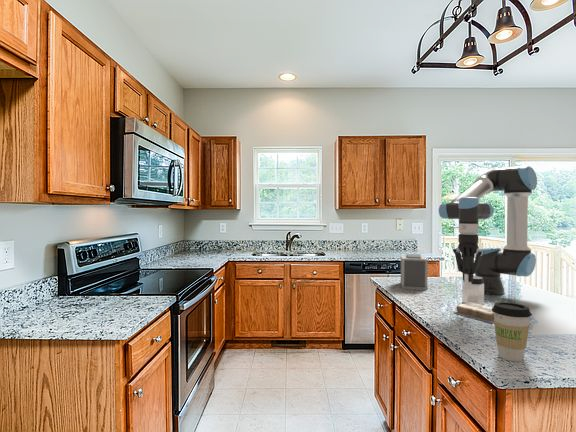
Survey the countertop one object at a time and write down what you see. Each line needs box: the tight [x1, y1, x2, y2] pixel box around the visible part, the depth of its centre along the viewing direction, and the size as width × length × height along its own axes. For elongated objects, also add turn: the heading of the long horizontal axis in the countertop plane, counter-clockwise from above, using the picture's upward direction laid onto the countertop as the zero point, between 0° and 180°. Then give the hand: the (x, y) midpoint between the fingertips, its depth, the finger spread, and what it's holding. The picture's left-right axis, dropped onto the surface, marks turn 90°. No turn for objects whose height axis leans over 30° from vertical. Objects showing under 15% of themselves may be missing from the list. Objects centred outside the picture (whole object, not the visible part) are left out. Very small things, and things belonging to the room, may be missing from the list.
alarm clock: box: [400, 253, 429, 291], centre depth 201 cm, size 18×13×18 cm
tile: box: [456, 302, 494, 320], centre depth 146 cm, size 10×2×14 cm
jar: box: [461, 275, 485, 305], centre depth 164 cm, size 9×8×12 cm
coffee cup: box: [492, 301, 533, 363], centre depth 103 cm, size 10×10×15 cm
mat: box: [453, 311, 494, 325], centre depth 144 cm, size 16×16×1 cm
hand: (467, 289), depth 150 cm, fingers closed
